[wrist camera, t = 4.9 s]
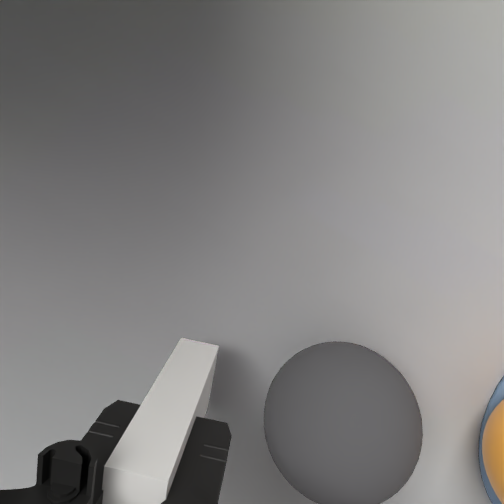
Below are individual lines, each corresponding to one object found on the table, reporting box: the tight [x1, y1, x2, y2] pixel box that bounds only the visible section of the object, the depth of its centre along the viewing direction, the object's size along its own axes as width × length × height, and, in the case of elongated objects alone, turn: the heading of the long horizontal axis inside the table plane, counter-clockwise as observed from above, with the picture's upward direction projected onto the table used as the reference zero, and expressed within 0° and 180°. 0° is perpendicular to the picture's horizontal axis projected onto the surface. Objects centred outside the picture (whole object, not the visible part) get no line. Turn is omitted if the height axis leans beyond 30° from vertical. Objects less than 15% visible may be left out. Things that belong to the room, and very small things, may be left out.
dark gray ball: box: [264, 342, 423, 504], centre depth 15 cm, size 6×6×6 cm
